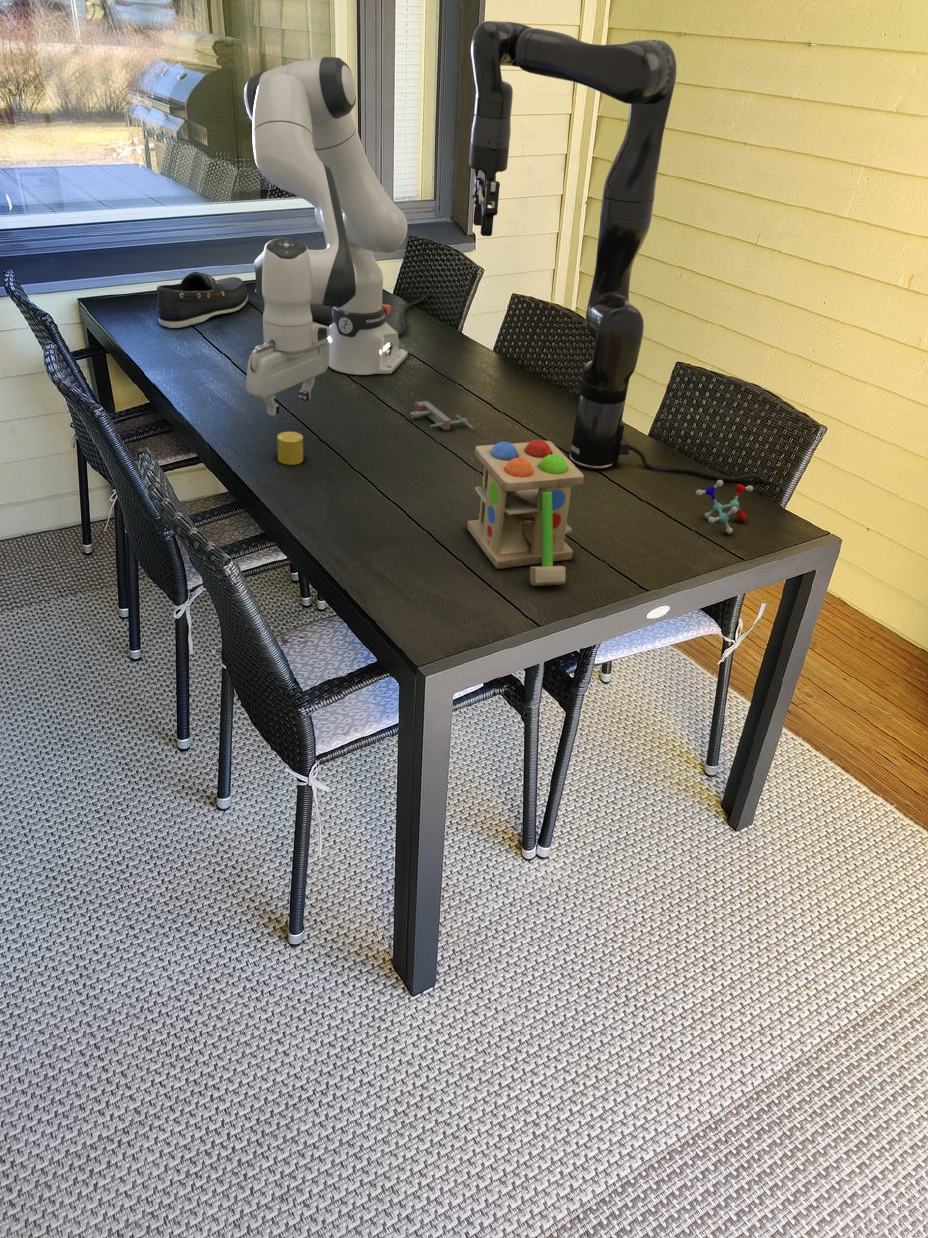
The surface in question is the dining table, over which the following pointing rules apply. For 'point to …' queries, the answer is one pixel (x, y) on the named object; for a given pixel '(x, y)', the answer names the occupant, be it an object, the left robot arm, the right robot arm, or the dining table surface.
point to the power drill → (321, 312)
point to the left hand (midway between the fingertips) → (289, 406)
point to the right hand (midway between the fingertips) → (482, 230)
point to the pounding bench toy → (525, 507)
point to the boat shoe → (199, 299)
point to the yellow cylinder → (290, 448)
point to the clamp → (436, 416)
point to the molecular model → (719, 507)
